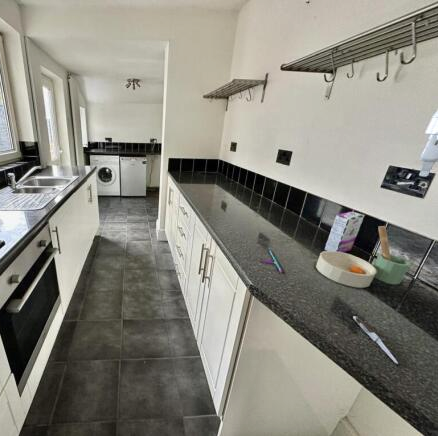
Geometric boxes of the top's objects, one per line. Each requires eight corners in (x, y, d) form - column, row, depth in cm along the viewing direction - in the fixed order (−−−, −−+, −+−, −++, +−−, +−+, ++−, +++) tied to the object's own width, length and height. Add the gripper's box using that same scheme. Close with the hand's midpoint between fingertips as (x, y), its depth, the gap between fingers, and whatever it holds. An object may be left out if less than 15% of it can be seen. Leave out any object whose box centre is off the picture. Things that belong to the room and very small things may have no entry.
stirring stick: (393, 277, 79) (385, 226, 79) (394, 279, 78) (385, 226, 78) (386, 277, 80) (378, 226, 80) (386, 278, 79) (378, 227, 79)
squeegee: (257, 248, 95) (270, 250, 94) (257, 250, 96) (270, 252, 95) (267, 269, 81) (282, 271, 80) (266, 271, 82) (281, 273, 81)
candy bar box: (338, 245, 102) (351, 211, 96) (351, 250, 98) (366, 215, 92) (322, 250, 98) (335, 214, 92) (335, 256, 94) (350, 218, 88)
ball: (352, 270, 79) (364, 274, 77) (353, 263, 80) (364, 267, 79) (347, 274, 81) (358, 278, 80) (348, 267, 83) (359, 271, 81)
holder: (402, 280, 80) (412, 261, 76) (396, 288, 76) (407, 268, 72) (373, 269, 85) (382, 251, 82) (366, 276, 81) (375, 256, 78)
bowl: (375, 279, 80) (382, 266, 78) (360, 295, 72) (367, 281, 70) (325, 259, 91) (330, 247, 89) (307, 270, 83) (312, 257, 81)
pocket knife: (350, 318, 63) (353, 313, 62) (354, 319, 63) (357, 313, 62) (394, 367, 50) (398, 360, 50) (398, 367, 50) (402, 361, 49)
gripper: (461, 128, 61) (435, 179, 66) (469, 129, 72) (445, 173, 77) (426, 127, 66) (404, 175, 71) (438, 128, 76) (418, 170, 82)
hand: (426, 174), depth 74 cm, fingers open, 8 cm apart
